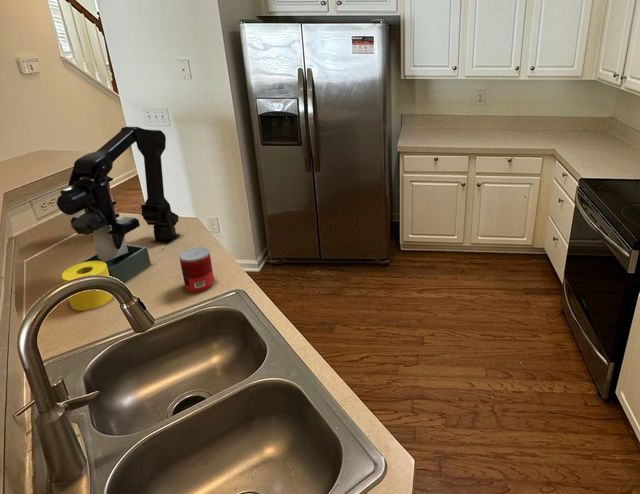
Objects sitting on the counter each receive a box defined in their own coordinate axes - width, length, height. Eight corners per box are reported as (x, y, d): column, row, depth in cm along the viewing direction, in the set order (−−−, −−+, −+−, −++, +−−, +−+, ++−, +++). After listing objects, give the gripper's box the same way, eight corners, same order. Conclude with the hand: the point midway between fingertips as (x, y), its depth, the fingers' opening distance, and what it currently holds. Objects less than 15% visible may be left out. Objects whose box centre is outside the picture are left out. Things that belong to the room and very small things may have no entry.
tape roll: (61, 306, 117) (52, 277, 114) (94, 286, 126) (86, 258, 123) (92, 313, 115) (83, 283, 112) (122, 291, 124) (115, 263, 121)
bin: (120, 260, 140) (116, 242, 138) (151, 265, 138) (147, 247, 135) (82, 283, 128) (77, 264, 125) (115, 289, 125) (110, 269, 123)
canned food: (220, 280, 131) (215, 249, 127) (200, 295, 124) (194, 262, 120) (199, 275, 133) (194, 244, 129) (179, 289, 126) (172, 257, 122)
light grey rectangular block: (128, 252, 132) (121, 223, 128) (104, 261, 127) (96, 231, 123) (121, 248, 134) (114, 220, 130) (98, 258, 129) (90, 228, 125)
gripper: (45, 207, 118) (61, 256, 124) (102, 215, 115) (115, 265, 120) (82, 192, 128) (95, 239, 134) (135, 199, 125) (146, 246, 130)
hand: (111, 247), depth 130 cm, fingers closed on light grey rectangular block, 4 cm apart
